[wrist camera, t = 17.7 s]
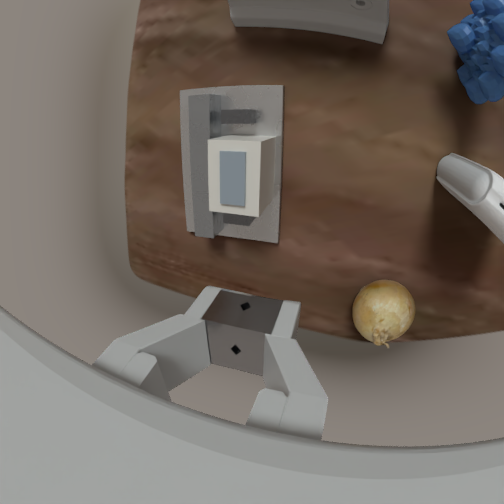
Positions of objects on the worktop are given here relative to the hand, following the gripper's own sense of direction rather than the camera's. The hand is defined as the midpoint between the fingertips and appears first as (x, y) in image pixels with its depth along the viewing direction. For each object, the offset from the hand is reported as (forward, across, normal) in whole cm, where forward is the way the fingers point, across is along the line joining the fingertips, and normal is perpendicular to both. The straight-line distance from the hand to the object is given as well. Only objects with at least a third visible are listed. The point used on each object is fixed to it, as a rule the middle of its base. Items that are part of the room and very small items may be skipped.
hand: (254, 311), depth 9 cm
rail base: (+24, -10, 0) cm, 26 cm away
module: (+23, -7, 0) cm, 24 cm away
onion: (+24, +10, -15) cm, 30 cm away
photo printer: (+24, +18, +1) cm, 30 cm away
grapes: (+24, +15, +16) cm, 33 cm away
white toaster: (+24, -1, +20) cm, 31 cm away
